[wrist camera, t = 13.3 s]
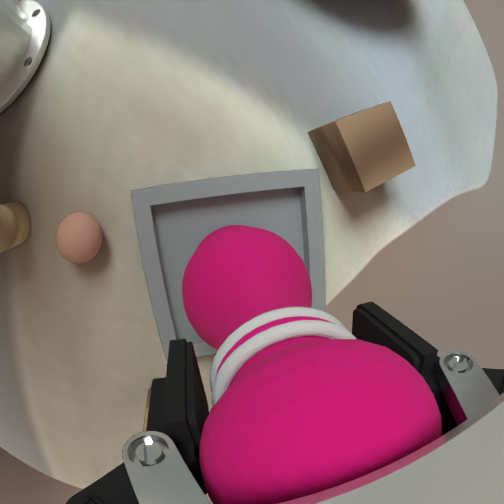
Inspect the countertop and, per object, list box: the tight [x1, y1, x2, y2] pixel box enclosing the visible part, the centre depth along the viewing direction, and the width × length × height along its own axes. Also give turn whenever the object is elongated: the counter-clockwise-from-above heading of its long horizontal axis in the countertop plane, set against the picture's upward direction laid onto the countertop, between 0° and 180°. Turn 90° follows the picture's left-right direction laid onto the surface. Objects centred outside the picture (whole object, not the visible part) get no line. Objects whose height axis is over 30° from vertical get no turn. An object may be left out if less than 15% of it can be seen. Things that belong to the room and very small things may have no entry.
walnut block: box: [308, 101, 415, 193], centre depth 20 cm, size 5×5×5 cm
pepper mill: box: [182, 225, 442, 504], centre depth 12 cm, size 7×7×20 cm
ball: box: [56, 212, 102, 263], centre depth 18 cm, size 4×4×4 cm
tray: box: [131, 169, 325, 361], centre depth 22 cm, size 13×13×2 cm
